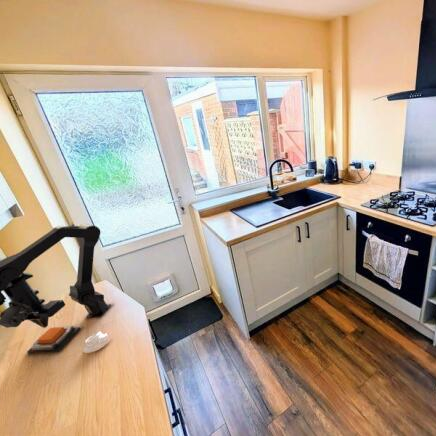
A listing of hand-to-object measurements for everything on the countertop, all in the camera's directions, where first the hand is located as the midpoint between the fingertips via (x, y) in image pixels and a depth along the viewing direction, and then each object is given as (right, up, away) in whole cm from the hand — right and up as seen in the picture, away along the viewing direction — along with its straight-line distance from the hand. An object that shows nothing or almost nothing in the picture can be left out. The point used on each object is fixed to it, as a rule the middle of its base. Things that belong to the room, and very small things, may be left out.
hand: (45, 326), depth 91 cm
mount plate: (+1, -7, +3) cm, 8 cm away
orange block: (+1, -6, +3) cm, 7 cm away
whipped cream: (+20, -7, -1) cm, 21 cm away
